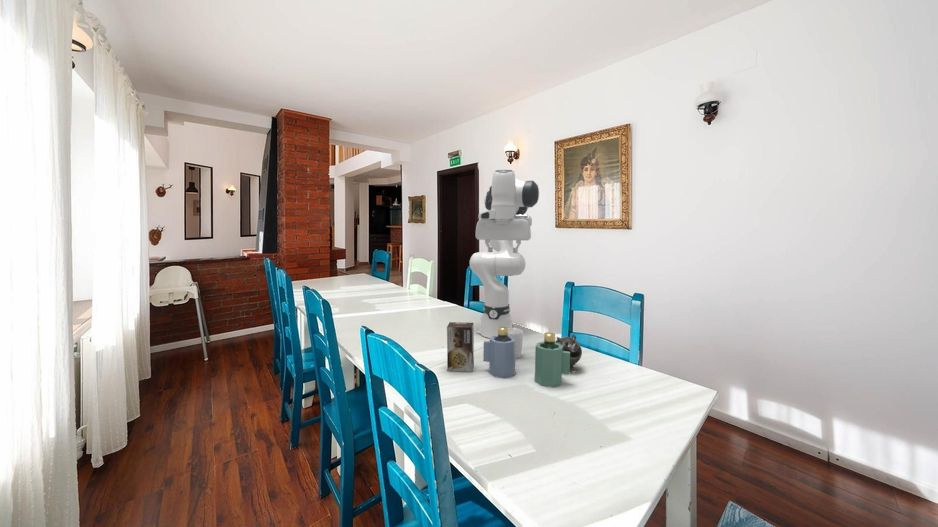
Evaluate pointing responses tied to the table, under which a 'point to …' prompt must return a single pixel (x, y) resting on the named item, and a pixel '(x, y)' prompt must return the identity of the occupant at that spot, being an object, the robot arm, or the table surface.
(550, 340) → the shiny brass cylinder
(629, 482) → the table surface
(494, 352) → the blue pot
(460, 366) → the coffee box
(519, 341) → the white cup
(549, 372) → the green mug
